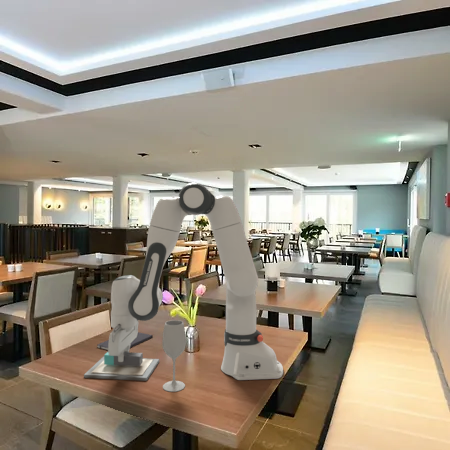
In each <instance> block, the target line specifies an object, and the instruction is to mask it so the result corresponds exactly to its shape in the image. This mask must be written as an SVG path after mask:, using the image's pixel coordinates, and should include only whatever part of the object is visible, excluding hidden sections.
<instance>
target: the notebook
mask: <svg viewBox="0 0 450 450" xmlns="http://www.w3.org/2000/svg"><path fill="white" fill-rule="evenodd" d="M152 338H153V334H148V333H144V332H139V331H138V334H137V337H136V338H135V339H134V340H133V341H132V342H131V345H130V349H131V348H132V347H135V346H137V345H139V344H141V343H144V342H146V341H148V340H151V339H152ZM108 344H109V339H107V340H104V341H102V342H100V343H98V344H97V348H99V349H103V350H107V351H108Z"/></svg>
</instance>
